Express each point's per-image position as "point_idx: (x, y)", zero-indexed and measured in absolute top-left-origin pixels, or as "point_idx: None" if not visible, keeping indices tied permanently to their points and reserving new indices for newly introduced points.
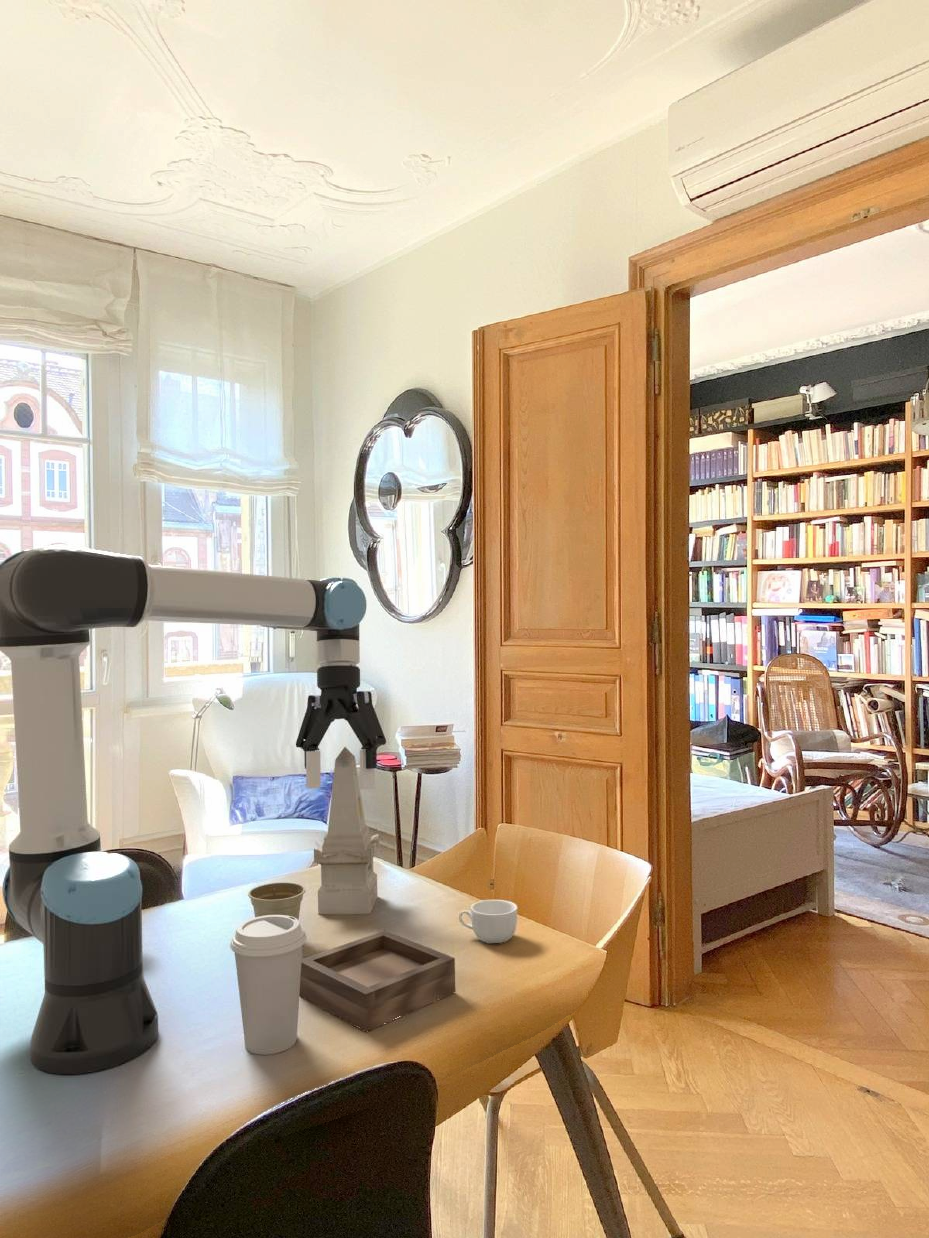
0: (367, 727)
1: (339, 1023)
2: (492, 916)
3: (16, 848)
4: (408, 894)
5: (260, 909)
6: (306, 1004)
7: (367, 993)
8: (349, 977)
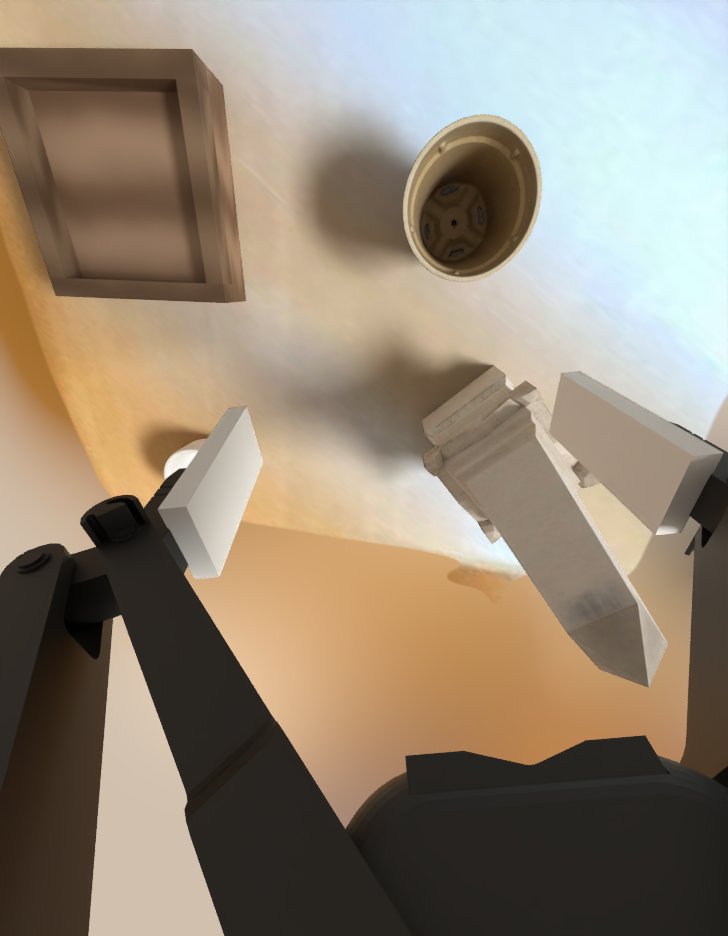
0: (10, 660)
1: None
2: (172, 454)
3: None
4: (435, 507)
5: (459, 143)
6: None
7: None
8: (139, 142)
